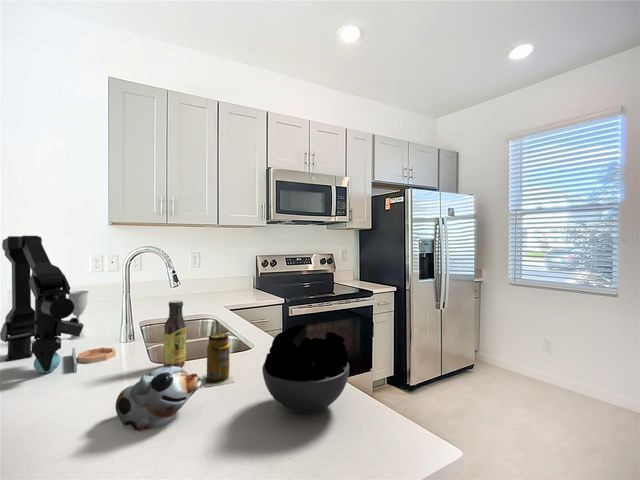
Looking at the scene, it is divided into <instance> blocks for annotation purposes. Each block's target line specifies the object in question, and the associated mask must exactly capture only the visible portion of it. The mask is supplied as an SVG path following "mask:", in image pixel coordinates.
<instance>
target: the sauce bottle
mask: <svg viewBox="0 0 640 480" xmlns="http://www.w3.org/2000/svg"><path fill="white" fill-rule="evenodd" d="M183 306H184V301H183V300H171V301H170V300H169V301H168V308H169V310H168V318H167V320H166V321H165V323H164V331H163V332H164V333H163V351H162V352H163V353H162V354H163V355H162V356H163V357H162V362H163V367H170V366H176V367H180V368H182V367H184V366H185V363H186V352H187V351H186V350H187V349H186V348H187V347H186V346H187V326H186V323H185V320H184V317H183Z"/></svg>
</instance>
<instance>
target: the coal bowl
mask: <svg viewBox="0 0 640 480" xmlns="http://www.w3.org/2000/svg"><path fill="white" fill-rule="evenodd" d="M307 327H308V325H301V324H298V325H294V326H290V327H288V328H287V329H285V330H284V331H283V332H278V334H276V335H275V337H274V338H273V340H272V343H271V345H270V348H269V352H268V353H267V354H266V357H265V360H264V363H263V365H262V376H263V381H264V383H265V387H266V389H267V391H268V392H269V394H270V396H271V397H272V398H273V399H274V400H275V401H276V403H278V404H279V405H281V406H282V407H283V408H285V409H287V410H289V411H292V412H295V413H299V414H300V413H301V414H310V413H312V414H313V413H316V412H318V411H322V410H324V409H326V408H328V407H329V406H330V405H332V404H333V403H335V401H336V400H338V398H339V397H340V396H341V394H342V393H343V392H344V389H345V387H346V384H347V383H348V379H349V374H350V364H349V362H348V358H349V356H348V352H347V347H346V345H345V341H346V339H345V338H344V336H341V335H338V334H336V332H332V331H327V332H326V333H325V338H321V337H320V338H319V337H312V338H311V339H310V338H309V337H305V338H303V339H302V340H301V342H300V344H299V346H298V345H297V344H296V343H294V342H293V341H294V339H295V337H296V336H297V335H299V334H300V333H301V332H302V331H303V330H304V329H305V328H307Z"/></svg>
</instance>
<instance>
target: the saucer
mask: <svg viewBox="0 0 640 480" xmlns="http://www.w3.org/2000/svg"><path fill="white" fill-rule="evenodd" d="M115 356H116V348H114V347H98V348H97V347H96V348H91V349H87V350H84V351H83V352H80V353H78V354H77V362H78V363H80V362H84V363H87V364H93V363H97V362H103V361H107V360H109V359H111V358H114V357H115ZM84 363H83V364H84Z"/></svg>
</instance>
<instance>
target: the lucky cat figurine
mask: <svg viewBox="0 0 640 480" xmlns="http://www.w3.org/2000/svg"><path fill="white" fill-rule="evenodd" d="M203 380H204V378H203V376H200V375H198V373H191V374H190V373H188V372H187V371H186V370H185V369H183V368H182V367H181V368H180V367H176V366H170V367H164V366H163V367H158V368H155V369H154V370H152V371H150V372H149V373H147V375H146V374H143V375H142V376H141V377H140V379H139V381H137V382H136V383H134V384H133V385H129V386H126V387H125V388H124V389H123V390H121V391H120V393H119V394H118V396H117V399H116V401H115V407H114V408H115V411H116V415H117V417H118V419H119V420H120V422H121V423H122V425H123V426H126V427H127V426H131V427H132V428H133V429H134V430H135V431H138V432H140V431H145V430H150V429H155V428H156V427H157V428H160V427H165V425H166V426H167V424H168V423H169V422H170V421H171V420H172V419H174V417H175V416H177V413H178V411H179V410H180V409H181V408H182V407H183V406H184V405H185V404H186V403H187V402H188V400H189V399H190V398H191V397H192V396H193V395H194V393H196V391H197V390H198V389H199V388H200V387H201V384H202V382H203Z"/></svg>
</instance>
